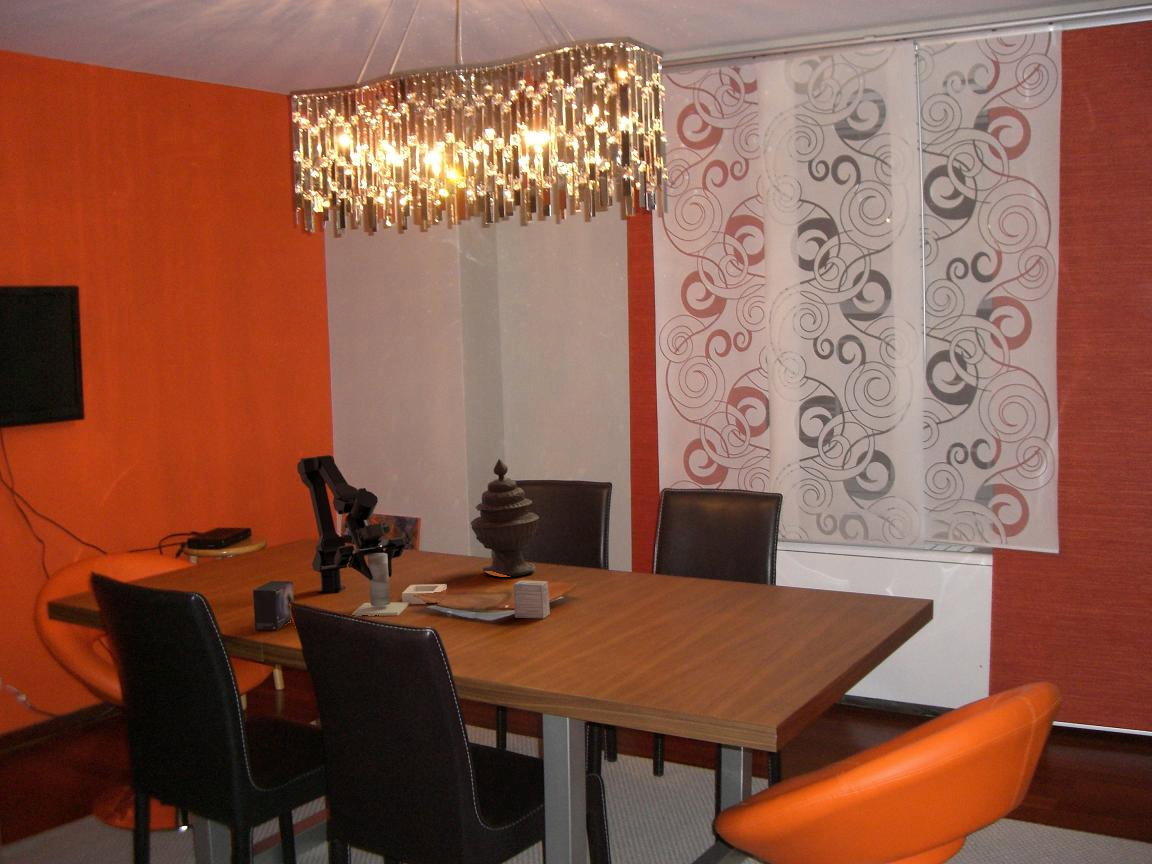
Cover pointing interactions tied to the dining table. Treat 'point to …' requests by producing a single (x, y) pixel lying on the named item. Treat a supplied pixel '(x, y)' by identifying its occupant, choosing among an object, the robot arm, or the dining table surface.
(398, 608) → the pad
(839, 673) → the dining table surface
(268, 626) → the small box
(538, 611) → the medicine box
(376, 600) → the peg
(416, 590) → the pocket block
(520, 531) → the decorative urn
